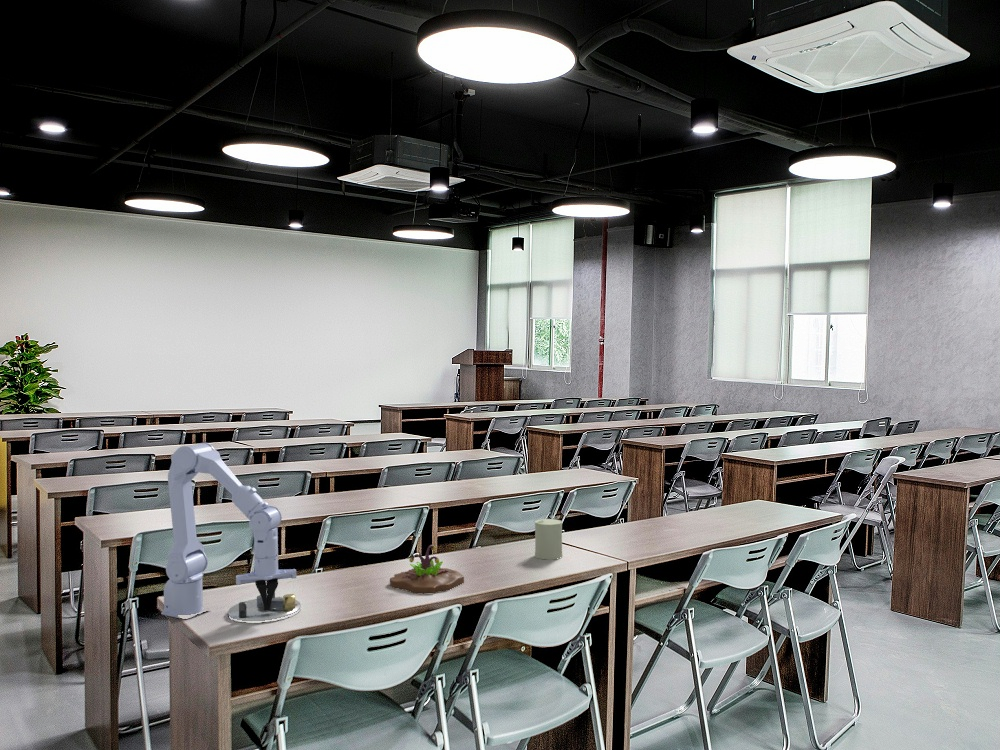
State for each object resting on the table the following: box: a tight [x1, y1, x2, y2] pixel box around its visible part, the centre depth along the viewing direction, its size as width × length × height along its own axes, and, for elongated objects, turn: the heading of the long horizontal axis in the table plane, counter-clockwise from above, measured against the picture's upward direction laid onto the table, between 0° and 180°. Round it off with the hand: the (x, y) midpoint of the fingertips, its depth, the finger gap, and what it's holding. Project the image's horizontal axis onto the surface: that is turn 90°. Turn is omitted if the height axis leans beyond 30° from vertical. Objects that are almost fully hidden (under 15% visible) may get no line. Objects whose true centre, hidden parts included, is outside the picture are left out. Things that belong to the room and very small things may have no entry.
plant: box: [389, 544, 465, 595], centre depth 222 cm, size 20×20×11 cm
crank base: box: [227, 591, 302, 621], centre depth 197 cm, size 18×18×5 cm
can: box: [534, 518, 564, 561], centre depth 251 cm, size 9×9×12 cm
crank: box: [256, 593, 296, 610], centre depth 196 cm, size 10×4×3 cm, turn 77°
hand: (266, 609), depth 191 cm, fingers closed
